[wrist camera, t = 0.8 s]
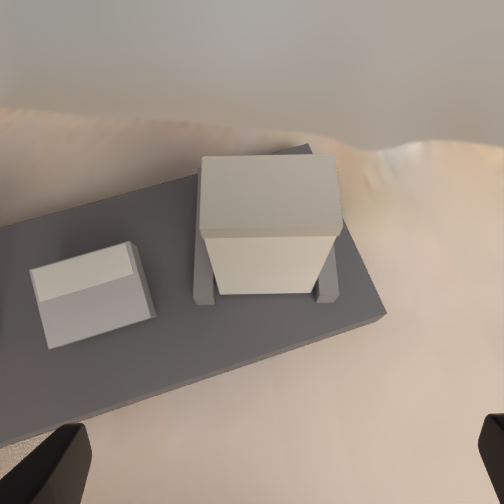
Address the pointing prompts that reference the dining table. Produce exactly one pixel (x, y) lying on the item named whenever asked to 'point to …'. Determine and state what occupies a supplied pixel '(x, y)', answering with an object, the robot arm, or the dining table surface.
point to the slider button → (269, 220)
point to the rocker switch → (92, 294)
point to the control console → (166, 307)
